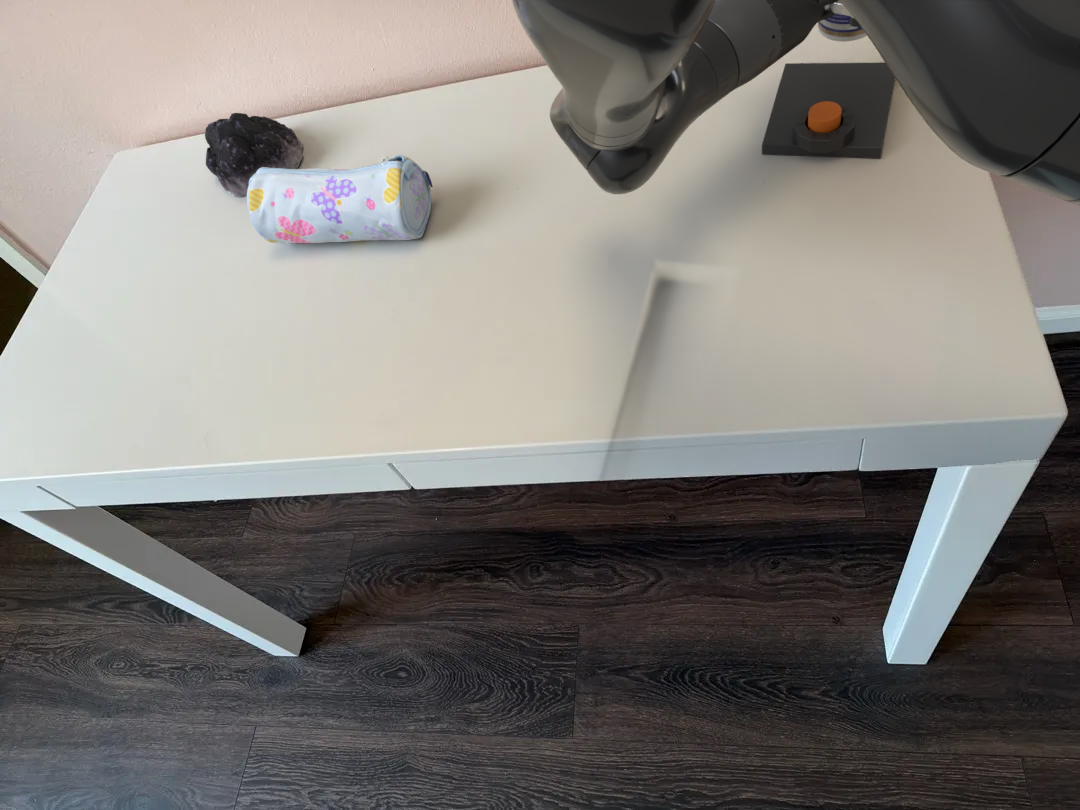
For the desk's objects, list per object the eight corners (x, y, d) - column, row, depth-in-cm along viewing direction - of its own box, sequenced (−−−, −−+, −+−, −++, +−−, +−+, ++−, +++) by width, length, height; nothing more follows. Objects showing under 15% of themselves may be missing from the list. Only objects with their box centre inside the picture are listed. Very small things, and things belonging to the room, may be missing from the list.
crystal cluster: (250, 137, 112) (203, 81, 104) (324, 130, 106) (279, 70, 98) (211, 208, 106) (157, 155, 98) (286, 204, 101) (235, 147, 92)
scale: (896, 73, 86) (900, 48, 83) (879, 165, 79) (882, 142, 76) (785, 73, 90) (785, 50, 88) (759, 161, 83) (759, 138, 81)
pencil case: (444, 200, 92) (415, 135, 85) (427, 254, 88) (395, 190, 80) (294, 211, 98) (254, 151, 91) (271, 262, 94) (227, 204, 86)
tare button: (842, 114, 80) (843, 101, 79) (838, 134, 79) (839, 121, 78) (810, 113, 82) (811, 100, 80) (805, 133, 80) (806, 121, 79)
